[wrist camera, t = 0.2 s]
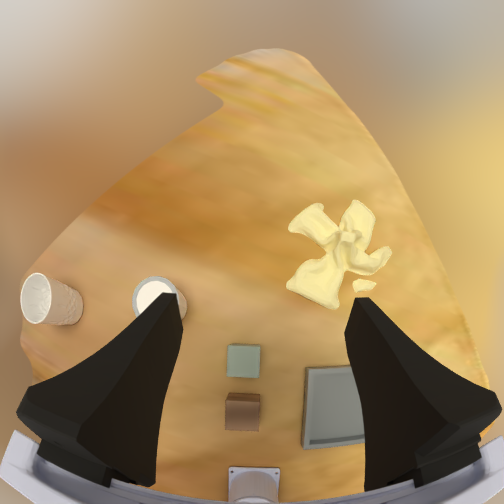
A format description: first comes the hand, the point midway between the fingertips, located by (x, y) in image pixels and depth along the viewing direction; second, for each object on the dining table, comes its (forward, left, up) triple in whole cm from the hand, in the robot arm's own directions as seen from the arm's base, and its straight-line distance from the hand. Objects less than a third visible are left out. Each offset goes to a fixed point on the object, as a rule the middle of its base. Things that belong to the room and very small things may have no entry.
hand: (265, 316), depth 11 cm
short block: (-12, +2, -31) cm, 33 cm away
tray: (-12, -15, -31) cm, 36 cm away
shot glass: (+3, +14, -31) cm, 34 cm away
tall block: (-4, +2, -31) cm, 31 cm away
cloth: (+13, -14, -31) cm, 37 cm away
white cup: (+1, +34, -31) cm, 46 cm away
